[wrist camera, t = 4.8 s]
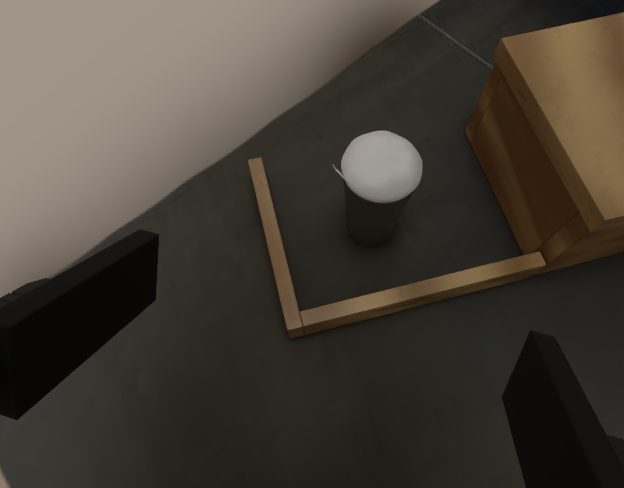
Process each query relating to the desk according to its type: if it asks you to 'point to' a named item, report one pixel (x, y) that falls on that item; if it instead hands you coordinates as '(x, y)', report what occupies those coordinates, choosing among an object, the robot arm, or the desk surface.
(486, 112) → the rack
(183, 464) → the desk surface
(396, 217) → the milkshake
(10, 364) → the robot arm
